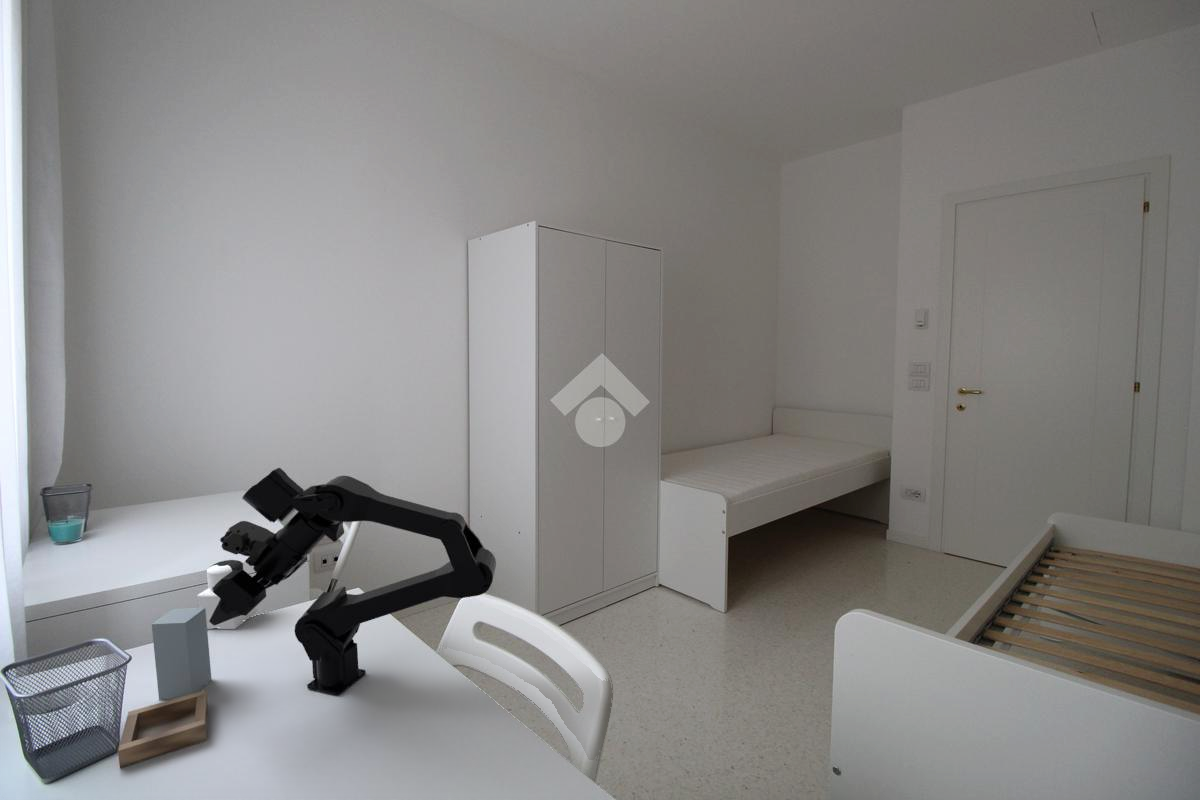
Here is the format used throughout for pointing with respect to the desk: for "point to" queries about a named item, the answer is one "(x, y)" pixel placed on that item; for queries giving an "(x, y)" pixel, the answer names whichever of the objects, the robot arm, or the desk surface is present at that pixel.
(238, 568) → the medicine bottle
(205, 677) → the grey key block
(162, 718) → the walnut socket
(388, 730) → the desk surface
